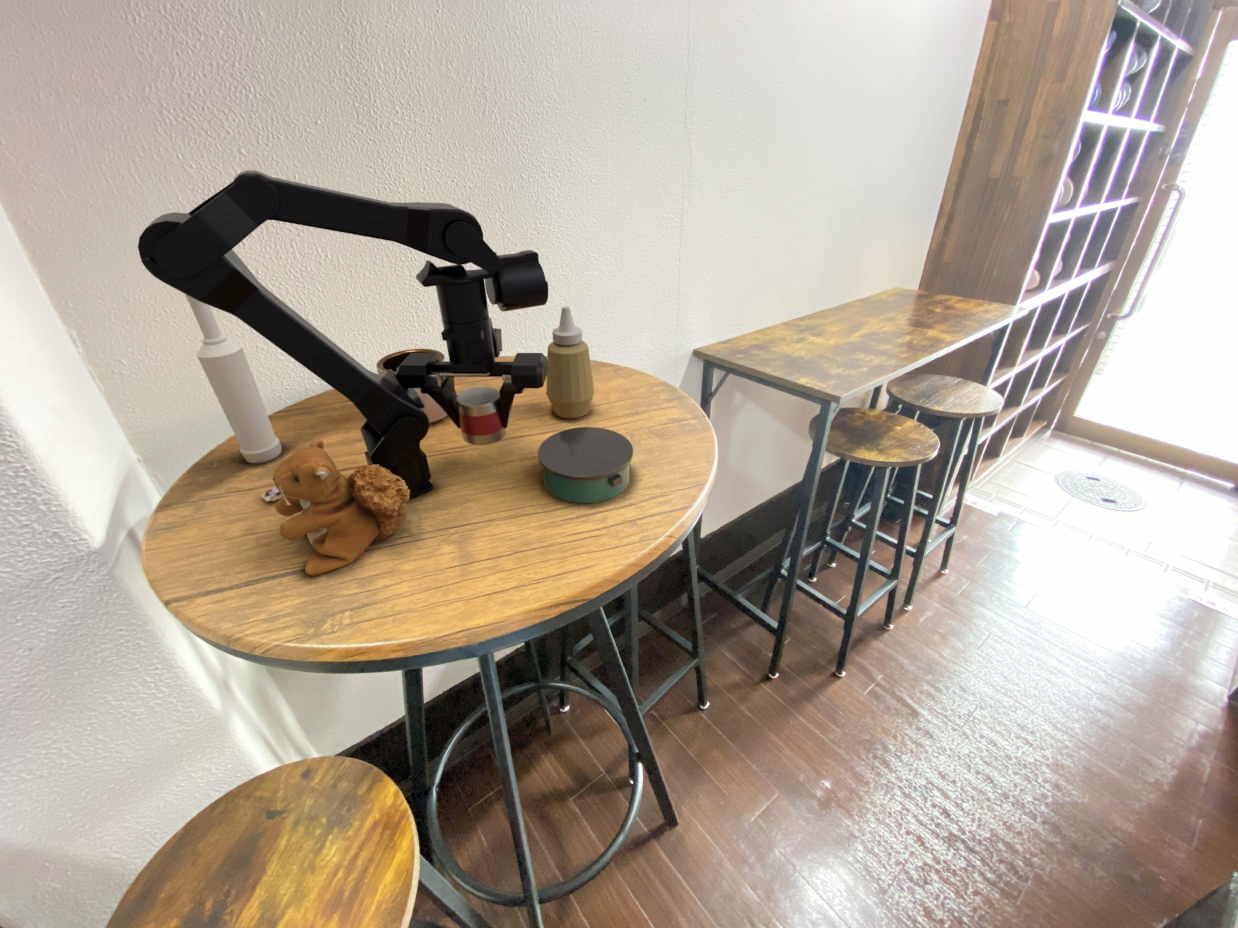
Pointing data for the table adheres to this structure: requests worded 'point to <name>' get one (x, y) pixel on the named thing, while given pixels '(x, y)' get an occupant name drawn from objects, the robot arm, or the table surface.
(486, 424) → the can
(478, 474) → the table surface
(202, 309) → the bottle
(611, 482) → the round lidded tin
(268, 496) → the granola bar
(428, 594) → the table surface
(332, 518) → the stuffed squirrel
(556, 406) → the squeeze bottle
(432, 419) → the planter
